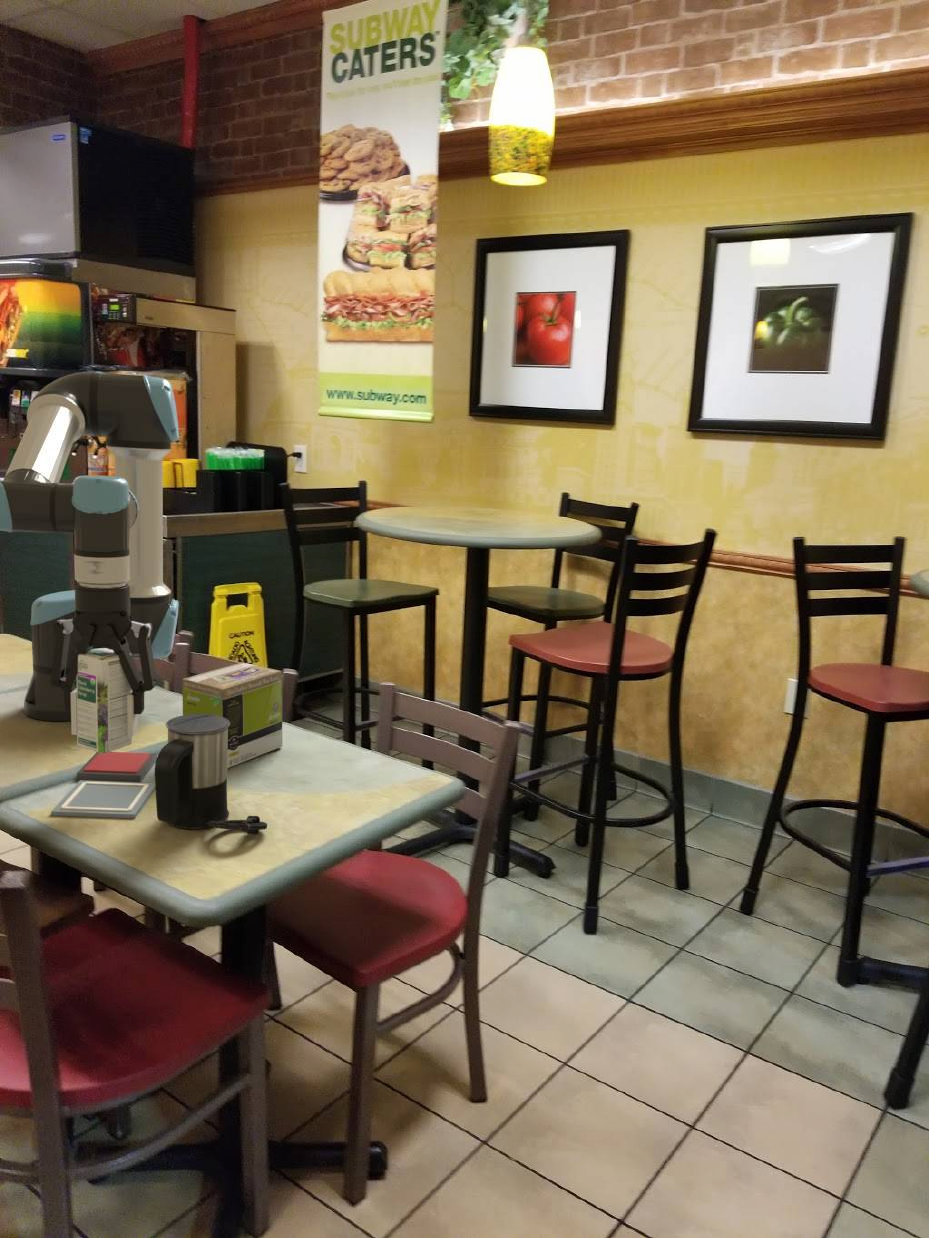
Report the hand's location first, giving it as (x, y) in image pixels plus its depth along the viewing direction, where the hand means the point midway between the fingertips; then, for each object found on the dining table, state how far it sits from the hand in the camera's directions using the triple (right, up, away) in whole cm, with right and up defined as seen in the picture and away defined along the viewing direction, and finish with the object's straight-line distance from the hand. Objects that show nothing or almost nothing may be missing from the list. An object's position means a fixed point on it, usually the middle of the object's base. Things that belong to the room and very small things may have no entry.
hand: (105, 732), depth 139 cm
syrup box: (0, -2, 0) cm, 2 cm away
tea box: (+13, -7, +25) cm, 29 cm away
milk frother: (+18, -13, -3) cm, 22 cm away
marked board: (-1, -11, +2) cm, 11 cm away
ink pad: (-3, -8, +14) cm, 17 cm away
